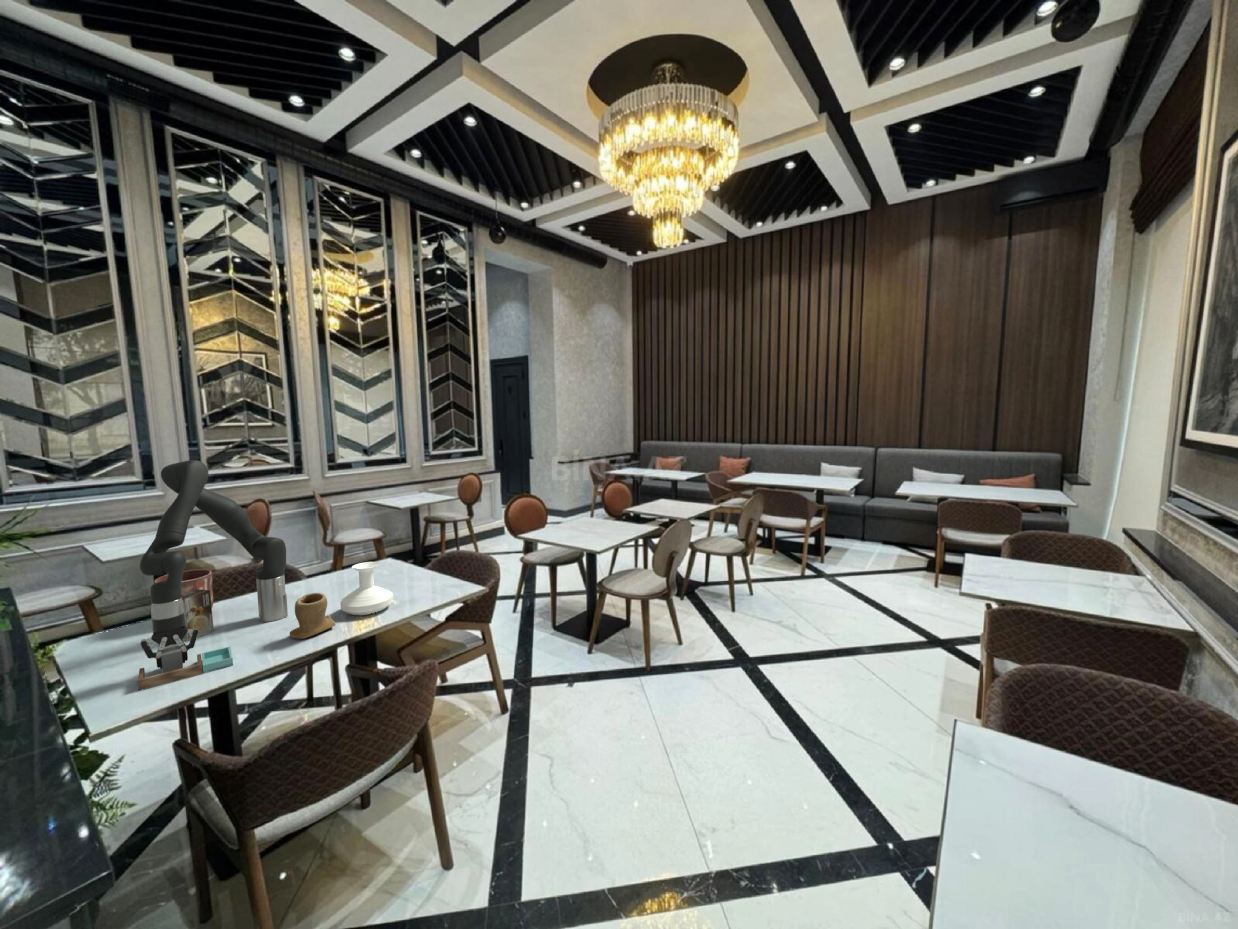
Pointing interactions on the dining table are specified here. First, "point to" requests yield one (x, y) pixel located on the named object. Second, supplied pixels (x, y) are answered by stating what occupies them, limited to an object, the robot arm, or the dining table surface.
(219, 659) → the teal tray
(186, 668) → the walnut bay
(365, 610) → the white vase
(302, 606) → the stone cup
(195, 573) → the pottery
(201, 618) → the coffee box
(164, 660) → the chamfered grey block
